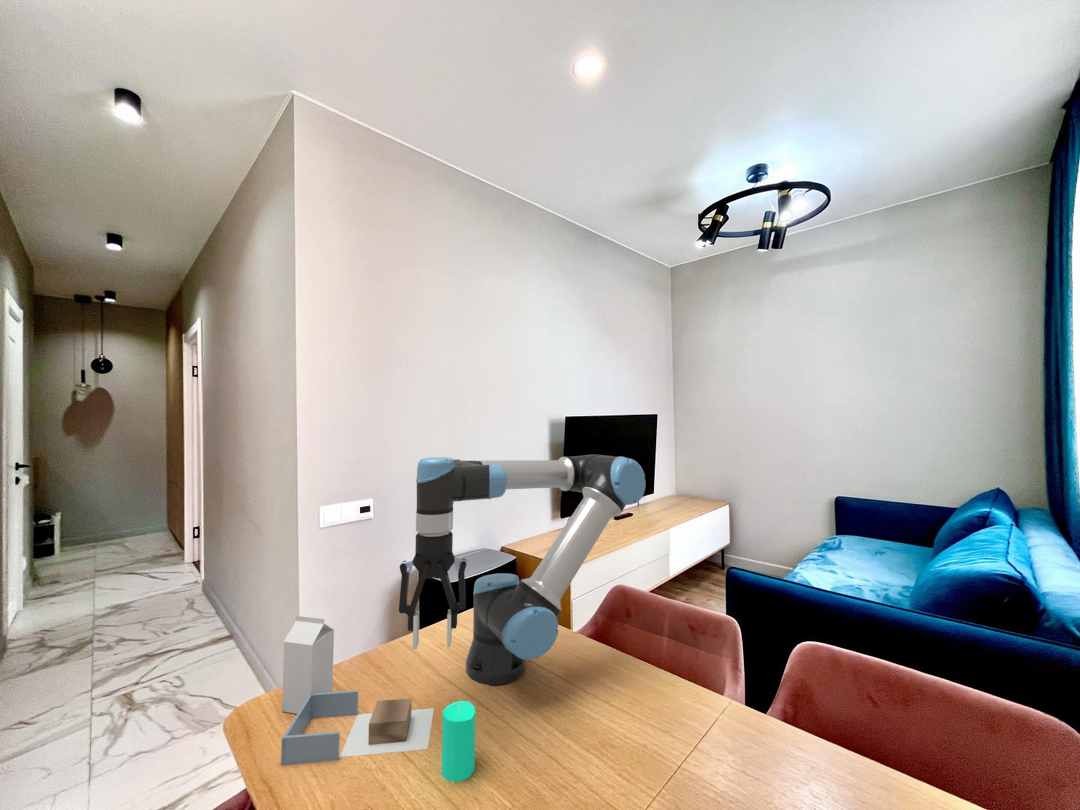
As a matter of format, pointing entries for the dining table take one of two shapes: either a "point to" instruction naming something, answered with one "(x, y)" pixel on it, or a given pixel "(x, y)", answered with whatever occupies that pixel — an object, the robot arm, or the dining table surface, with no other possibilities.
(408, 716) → the brown block
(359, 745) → the runner mat
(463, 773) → the candle
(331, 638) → the milk carton
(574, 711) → the dining table surface
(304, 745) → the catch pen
